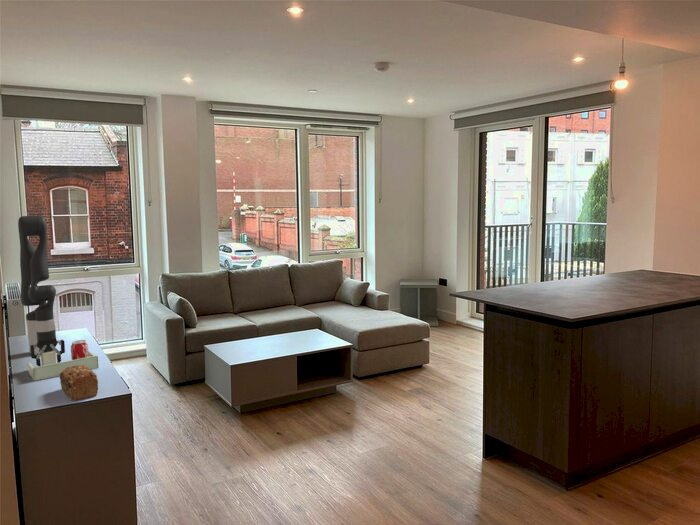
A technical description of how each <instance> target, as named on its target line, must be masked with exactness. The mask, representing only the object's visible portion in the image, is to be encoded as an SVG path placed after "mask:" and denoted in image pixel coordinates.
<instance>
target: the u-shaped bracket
mask: <svg viewBox="0 0 700 525" xmlns="http://www.w3.org/2000/svg"><path fill="white" fill-rule="evenodd" d="M88 352H89V357H86V358H81V359H76V360H72V359H71V360H66V361H61V362H60V363H57V362H56V363H54V364H49V365H44V366H42V365H41V366H33V364H32V363H31V362H30V361H29V362H27V368H28V375H29V376H30V377H31V378H32V380H33V381H34V382H36V381H41V380H45V379H51V378H56V377H60V373H61V372H62V371H63V370H65V369H66V368H67V367H71V366H77V365H85V366H87V367H88V368H89V369H90V370H95V369H99V368H100V367H99V357H98V355H96V354H94V352H92V351H89V350H88ZM40 379H41V380H40Z"/></svg>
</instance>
